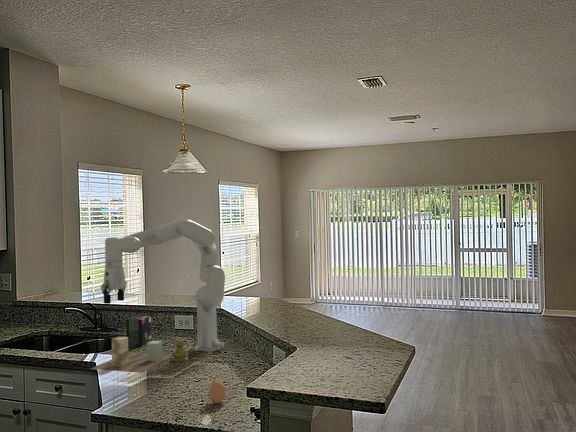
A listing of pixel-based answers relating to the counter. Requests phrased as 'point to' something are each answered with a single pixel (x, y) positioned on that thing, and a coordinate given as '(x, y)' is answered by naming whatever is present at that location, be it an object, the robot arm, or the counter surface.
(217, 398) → the egg
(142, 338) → the tampon box
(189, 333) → the counter surface
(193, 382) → the counter surface
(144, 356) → the walnut board
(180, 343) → the olive tiered piece
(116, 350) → the maple block
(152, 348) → the sage block
